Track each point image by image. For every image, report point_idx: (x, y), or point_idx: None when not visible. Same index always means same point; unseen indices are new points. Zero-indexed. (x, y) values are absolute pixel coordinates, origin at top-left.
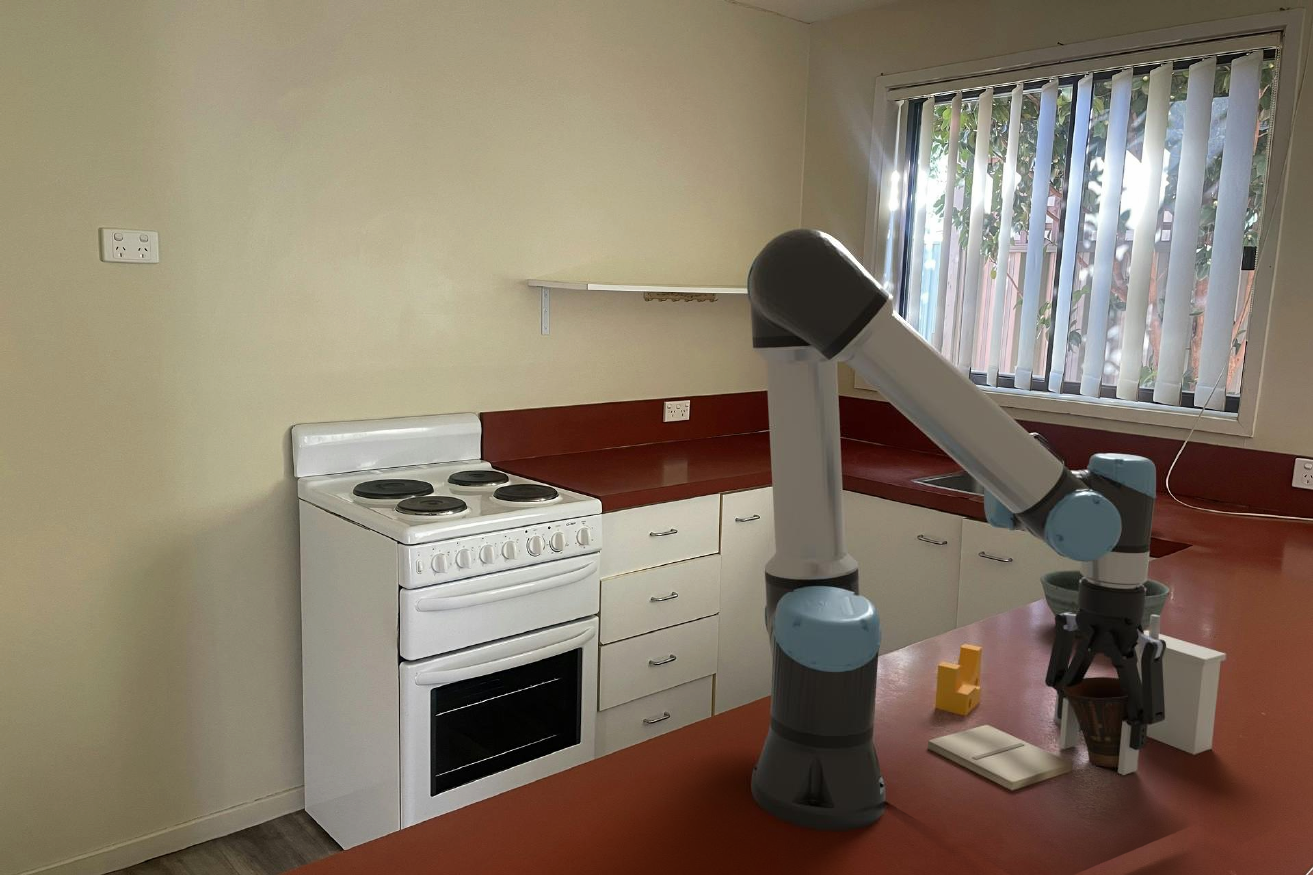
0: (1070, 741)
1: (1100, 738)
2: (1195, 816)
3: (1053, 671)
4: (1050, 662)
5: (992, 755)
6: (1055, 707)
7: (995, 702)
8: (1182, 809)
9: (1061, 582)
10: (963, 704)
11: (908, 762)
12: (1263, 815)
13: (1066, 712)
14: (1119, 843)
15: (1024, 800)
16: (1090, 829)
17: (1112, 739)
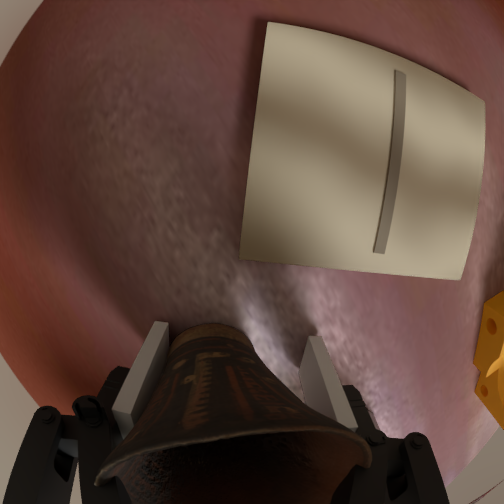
0: (306, 360)
1: (197, 358)
2: (20, 265)
3: (421, 475)
4: (441, 490)
5: (390, 122)
6: (379, 429)
7: (455, 382)
8: (37, 272)
9: None
10: (499, 309)
11: (447, 25)
12: (13, 343)
13: (333, 398)
14: (38, 57)
15: (220, 16)
16: (79, 44)
17: (169, 369)
